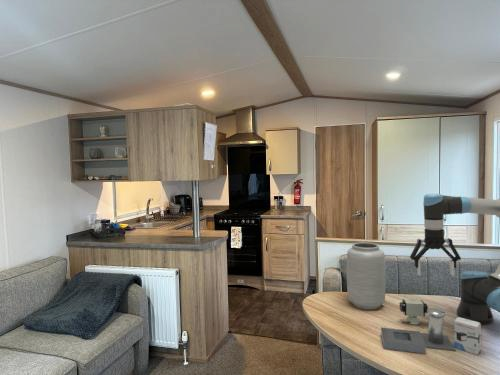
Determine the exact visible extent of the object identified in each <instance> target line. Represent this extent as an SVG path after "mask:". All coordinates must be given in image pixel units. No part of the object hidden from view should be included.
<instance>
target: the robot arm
mask: <svg viewBox="0 0 500 375" xmlns="http://www.w3.org/2000/svg"><path fill="white" fill-rule="evenodd" d="M459 214H460V215H462V214H476V215H487V216H488V215H490V216H496V217H497V218H499V219H500V198H497V199H493V198H491V199H490V198H479V197H478V198H477V197H467V196H461V195H460V196H459V195H458V196H455V195H454V196H453V195H443V194H442V193H426V194H425V195H423V216H424V219H423V220H424V222H423V223H424V224H423V226H424V238H423V239H422V238H417V239H416V244H415V246H414V248H413V249H412V252H411V254H410V256H409V258H410V259H411V260H413V261H414V267H415V268H416V271H417V275H418V276H421V273H422V272H421V271H422V270H421V261H420V259H421V258H422V257H423V256H424V255H425V254H426V253H427V251H428V250H440V249H441V250H442V251H443V252H444V253H445V254H446V255H447V256H448V257H449V258H450V259H449V274H450V275H451V276H453V277H455V269H456V268H457V261H459V260H460V261H461V260H462V257H461V256H460V254H459V252H458V251H457V249H456V247H455V246H454V243H453V239H451V238H449V237H448V238H446V239H445V231H444V216H445V215H459ZM423 243H424V244H425V245H424V246H423V247H422V248H421V246H422V245H423ZM445 243H446V244H447V245H448V246H449V249H450V251H451V252H452V253H453V255H452V253H451V252H450V251H449V250H448V249H447V248H446V247H445ZM420 248H421V249H420ZM419 249H420V251H419ZM492 310H494V311H496V312H500V263H499V264H498V266H497V268H496V270H495V271H494V272H492V273H490V274H489V273H488V272H486V271H480V270H477V271H476V270H466V271H462V272H461V274H460V302H459V304H458V306H457V308H456V316H457V317H461V318H464V319H468V320H472V321H476V322H479V323H481V325H490V324H493V323H494V315H493V312H492Z"/></svg>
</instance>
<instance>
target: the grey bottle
mask: <svg viewBox="0 0 500 375" xmlns="http://www.w3.org/2000/svg"><path fill="white" fill-rule="evenodd" d="M426 314H427V315H428V334H429V337H428V339H429V341H430V342H432V343H435V344H442V343H443V335H444V318H445V317H446V312H445V311H444V310H442V309H441V308H440V309H439V308H435V307H431V308H428V309H427V313H426Z"/></svg>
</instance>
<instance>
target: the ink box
mask: <svg viewBox="0 0 500 375" xmlns="http://www.w3.org/2000/svg"><path fill="white" fill-rule="evenodd" d="M453 325H454V326H453V328H454V329H453V331H454V332H453V337H454V339H453V340H454V341H453V346H454V348H455V349H457V350H461V351H463V352H464V351H465V352H468V353H471V354H474V355H478V354H479V353H480V352H481V331H482V329H481V328H482V327H481V325H482V324H481V323H479V322H476V321H472V320H468V319H464V318H461V317H458V316H457V317H456V318H455V319H454V324H453Z"/></svg>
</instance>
